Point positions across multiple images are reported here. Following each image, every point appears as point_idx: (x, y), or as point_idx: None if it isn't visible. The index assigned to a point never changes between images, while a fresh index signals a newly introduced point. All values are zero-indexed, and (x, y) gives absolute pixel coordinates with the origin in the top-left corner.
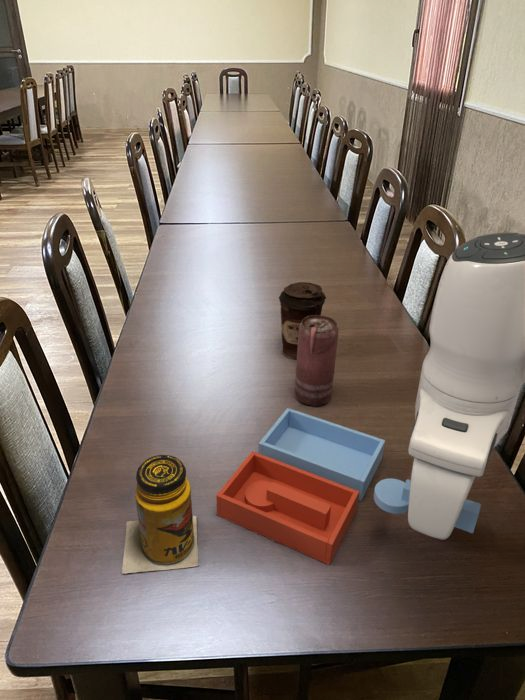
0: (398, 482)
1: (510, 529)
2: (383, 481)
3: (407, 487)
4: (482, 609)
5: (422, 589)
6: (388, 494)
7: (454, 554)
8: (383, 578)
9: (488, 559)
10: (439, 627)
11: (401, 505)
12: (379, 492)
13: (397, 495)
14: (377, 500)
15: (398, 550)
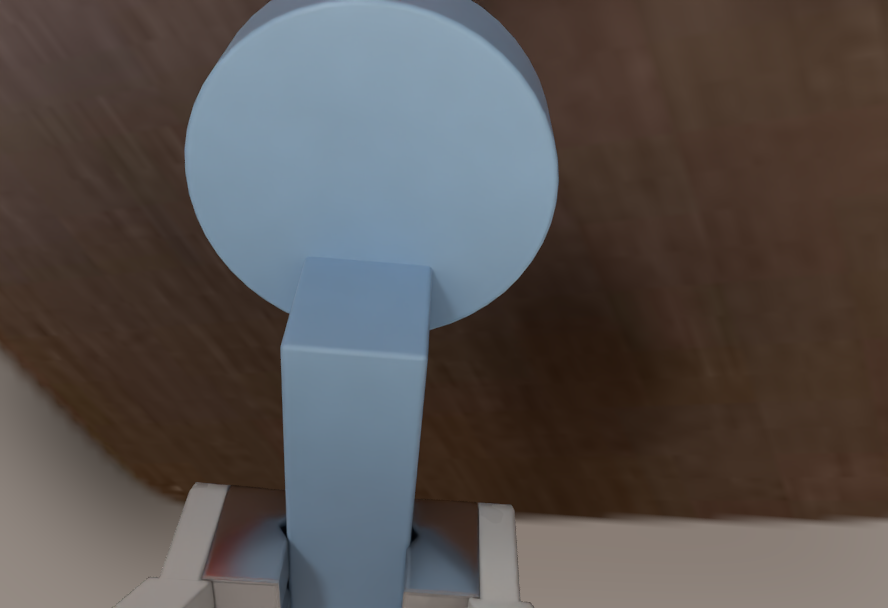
0: (515, 203)
1: (678, 497)
2: (471, 69)
3: (303, 378)
4: (221, 428)
5: (170, 231)
6: (314, 147)
7: (444, 330)
8: (110, 47)
9: (478, 438)
10: (35, 310)
11: (235, 271)
12: (292, 63)
13: (337, 223)
14: (227, 48)
15: None
